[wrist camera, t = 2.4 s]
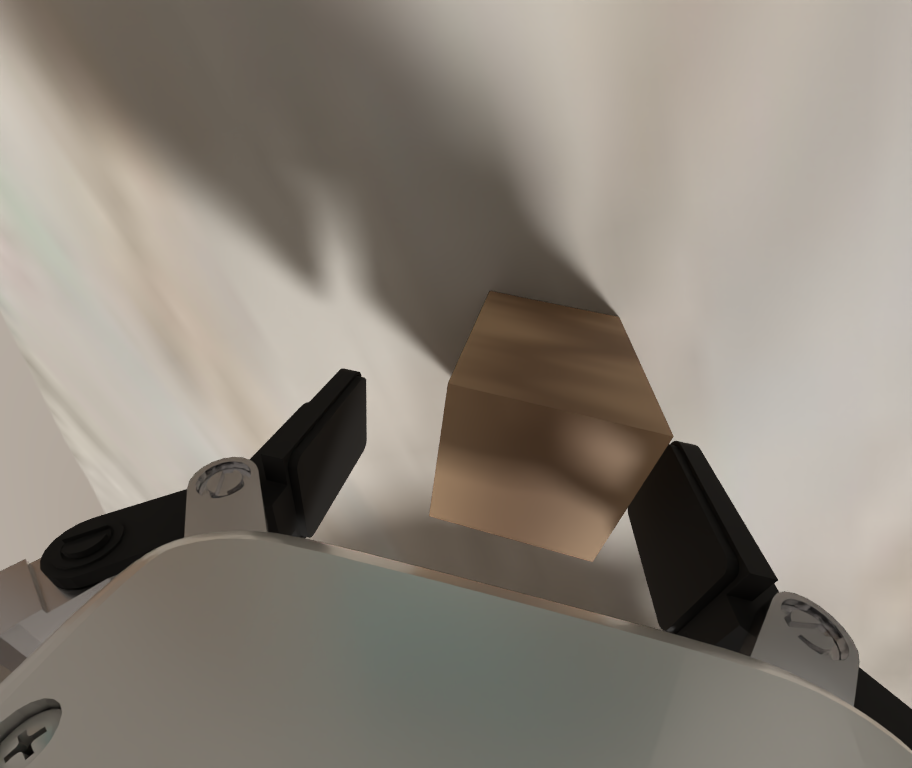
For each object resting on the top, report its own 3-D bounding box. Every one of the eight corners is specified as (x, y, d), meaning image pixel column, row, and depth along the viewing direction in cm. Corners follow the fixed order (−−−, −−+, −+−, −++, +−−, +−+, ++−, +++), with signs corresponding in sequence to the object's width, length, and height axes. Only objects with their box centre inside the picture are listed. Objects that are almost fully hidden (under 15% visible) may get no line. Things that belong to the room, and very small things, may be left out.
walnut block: (619, 316, 13) (673, 436, 7) (576, 418, 16) (592, 562, 10) (489, 290, 14) (447, 383, 8) (470, 392, 17) (429, 515, 11)
